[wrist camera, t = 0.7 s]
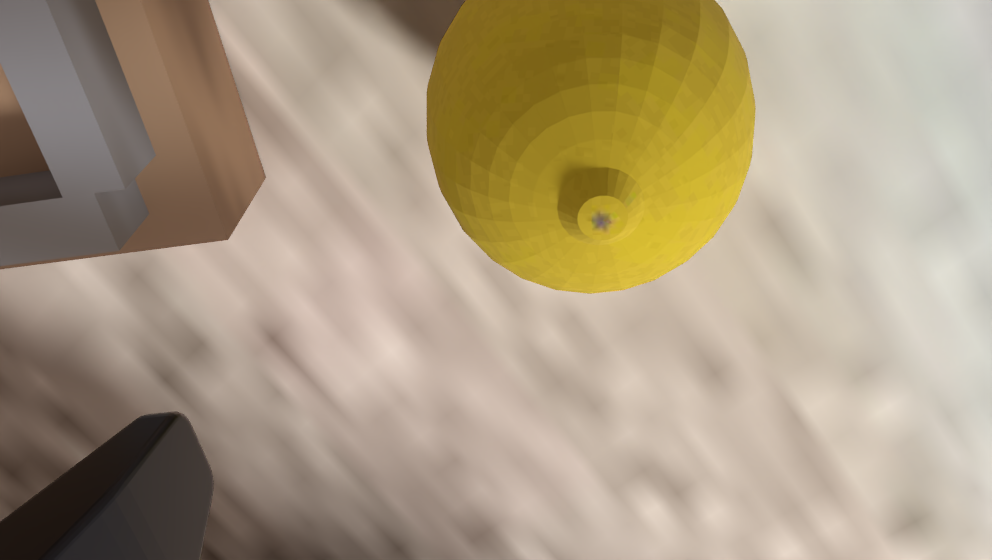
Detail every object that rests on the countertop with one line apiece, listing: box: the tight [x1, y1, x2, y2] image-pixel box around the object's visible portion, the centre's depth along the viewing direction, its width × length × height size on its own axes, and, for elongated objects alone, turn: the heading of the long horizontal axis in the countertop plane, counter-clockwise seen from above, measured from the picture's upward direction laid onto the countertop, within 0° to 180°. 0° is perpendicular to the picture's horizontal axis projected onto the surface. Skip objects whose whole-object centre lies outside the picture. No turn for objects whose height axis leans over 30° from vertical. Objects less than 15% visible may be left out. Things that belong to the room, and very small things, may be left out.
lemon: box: [427, 0, 755, 293], centre depth 15 cm, size 6×6×8 cm
